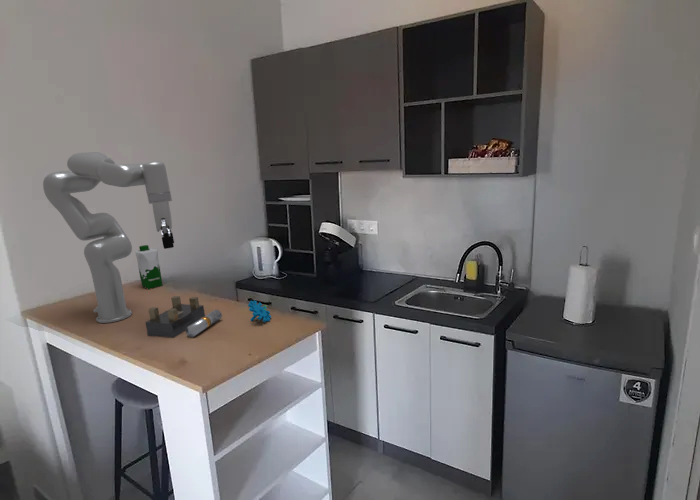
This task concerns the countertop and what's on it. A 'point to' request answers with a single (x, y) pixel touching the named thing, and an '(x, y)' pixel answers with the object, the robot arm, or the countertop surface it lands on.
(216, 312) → the tube
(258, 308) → the gear
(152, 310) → the grey plate with feet
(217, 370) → the countertop surface
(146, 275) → the milk carton
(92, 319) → the countertop surface
